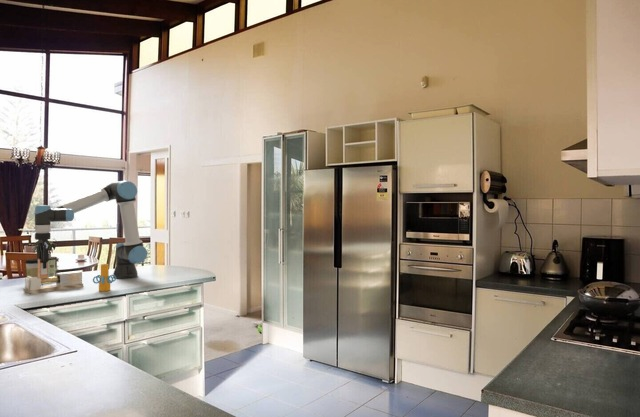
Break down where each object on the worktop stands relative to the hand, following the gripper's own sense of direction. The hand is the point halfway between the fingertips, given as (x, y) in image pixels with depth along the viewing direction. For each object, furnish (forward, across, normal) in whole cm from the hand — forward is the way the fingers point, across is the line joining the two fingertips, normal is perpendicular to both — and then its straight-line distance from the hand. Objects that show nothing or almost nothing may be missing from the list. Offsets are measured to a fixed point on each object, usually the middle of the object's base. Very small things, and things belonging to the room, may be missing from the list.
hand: (42, 273), depth 250 cm
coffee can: (+10, -39, +16) cm, 43 cm away
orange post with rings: (+10, +25, +23) cm, 36 cm away
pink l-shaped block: (+6, 0, +5) cm, 8 cm away
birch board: (+10, 0, +5) cm, 11 cm away
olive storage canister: (+10, -26, +4) cm, 28 cm away
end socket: (+8, 0, -5) cm, 9 cm away
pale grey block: (+8, 0, +14) cm, 16 cm away
